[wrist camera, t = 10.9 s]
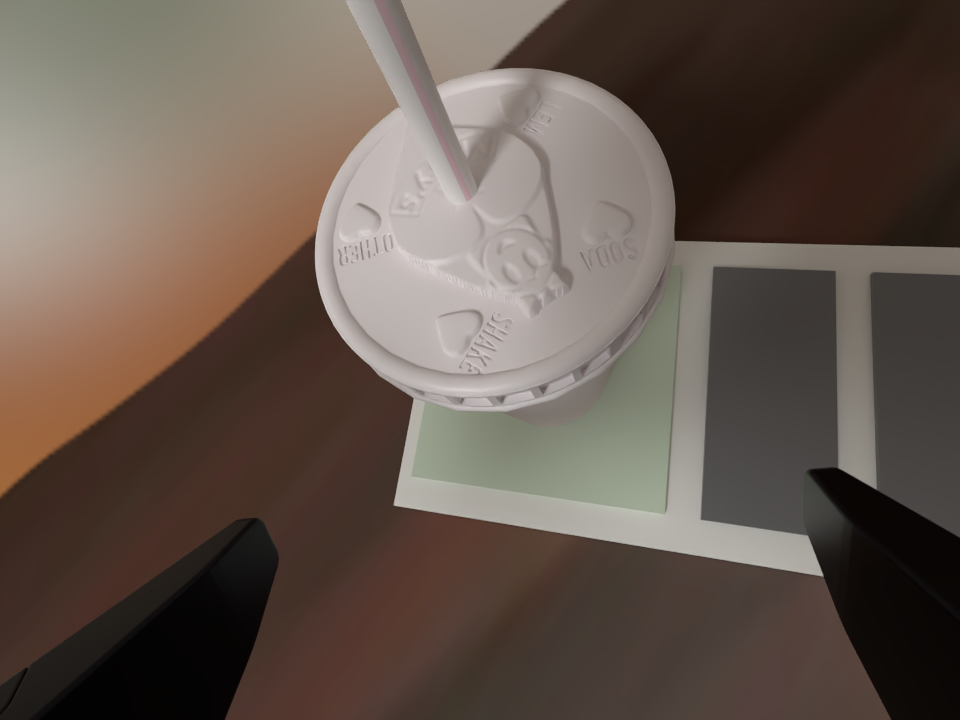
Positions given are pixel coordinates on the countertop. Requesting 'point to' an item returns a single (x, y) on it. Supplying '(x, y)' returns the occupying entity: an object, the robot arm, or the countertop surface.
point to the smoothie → (494, 234)
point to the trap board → (731, 409)
